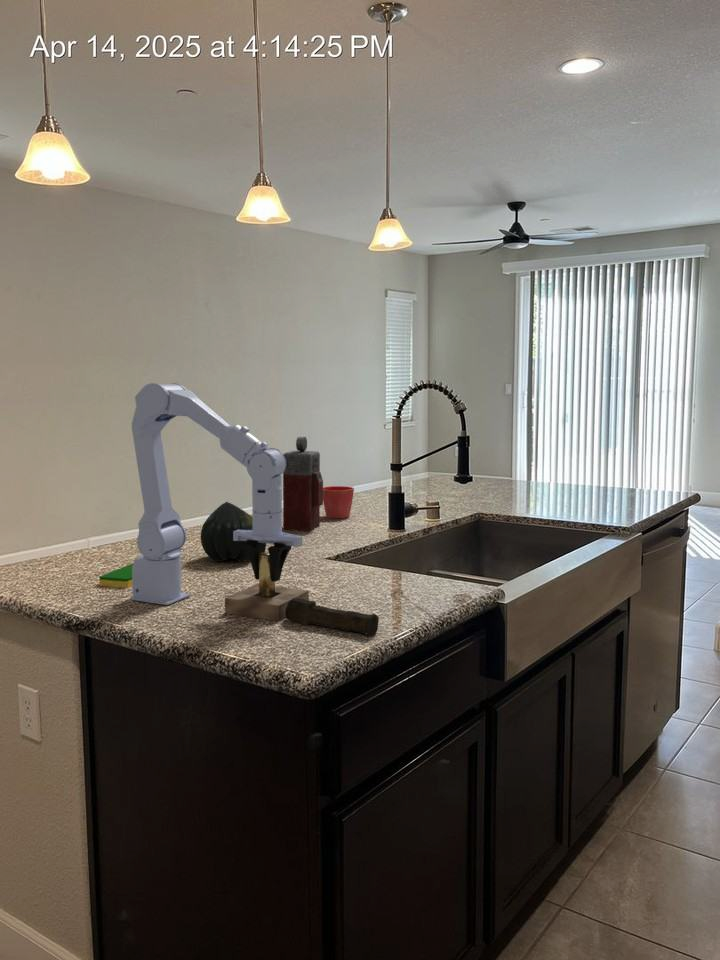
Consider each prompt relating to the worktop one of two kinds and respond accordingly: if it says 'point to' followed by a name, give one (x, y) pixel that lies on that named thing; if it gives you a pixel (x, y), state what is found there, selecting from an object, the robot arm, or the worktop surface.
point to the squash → (225, 533)
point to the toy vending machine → (302, 488)
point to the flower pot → (337, 501)
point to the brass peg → (265, 575)
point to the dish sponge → (118, 578)
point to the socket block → (263, 602)
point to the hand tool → (330, 617)
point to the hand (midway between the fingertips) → (267, 579)
